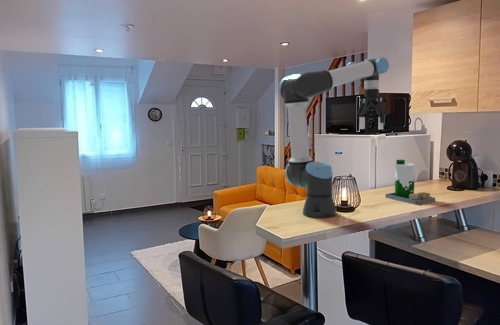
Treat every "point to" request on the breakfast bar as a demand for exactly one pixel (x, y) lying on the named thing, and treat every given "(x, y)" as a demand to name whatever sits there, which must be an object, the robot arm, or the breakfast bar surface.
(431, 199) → the tray
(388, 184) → the breakfast bar surface
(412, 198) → the oak block
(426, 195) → the oak block
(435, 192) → the breakfast bar surface
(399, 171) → the soya milk
